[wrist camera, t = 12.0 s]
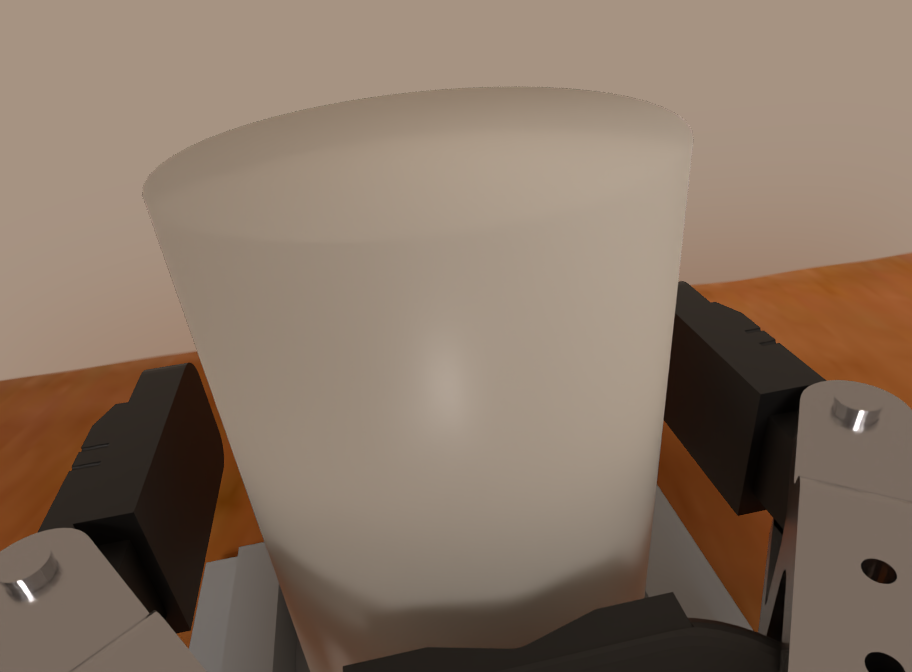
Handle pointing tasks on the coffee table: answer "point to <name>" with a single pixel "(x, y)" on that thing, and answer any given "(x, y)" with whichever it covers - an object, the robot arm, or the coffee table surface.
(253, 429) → the candle
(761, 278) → the coffee table surface
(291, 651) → the candle dish
